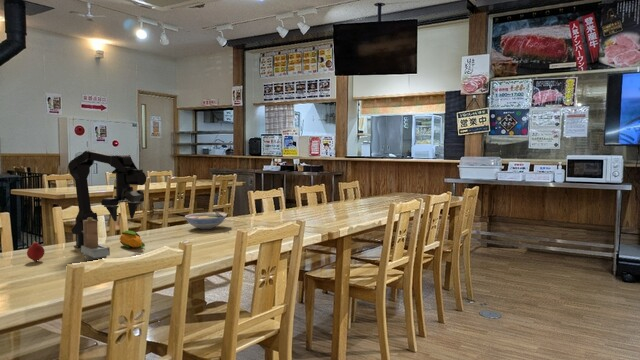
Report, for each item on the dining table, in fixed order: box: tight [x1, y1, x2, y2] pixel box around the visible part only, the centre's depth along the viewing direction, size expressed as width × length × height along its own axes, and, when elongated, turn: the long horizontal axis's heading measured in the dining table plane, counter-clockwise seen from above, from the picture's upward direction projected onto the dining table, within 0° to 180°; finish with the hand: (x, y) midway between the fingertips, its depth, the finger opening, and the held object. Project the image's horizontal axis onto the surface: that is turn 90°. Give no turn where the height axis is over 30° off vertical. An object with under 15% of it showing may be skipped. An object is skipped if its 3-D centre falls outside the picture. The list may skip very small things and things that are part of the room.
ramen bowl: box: [184, 211, 228, 230], centre depth 254 cm, size 25×23×8 cm
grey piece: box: [80, 243, 111, 261], centre depth 184 cm, size 14×8×5 cm, turn 46°
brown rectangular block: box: [83, 217, 99, 248], centre depth 187 cm, size 5×4×12 cm
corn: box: [119, 230, 146, 249], centre depth 205 cm, size 7×8×20 cm
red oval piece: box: [26, 241, 45, 262], centre depth 180 cm, size 6×6×8 cm
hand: (123, 219), depth 200 cm, fingers open, 9 cm apart
